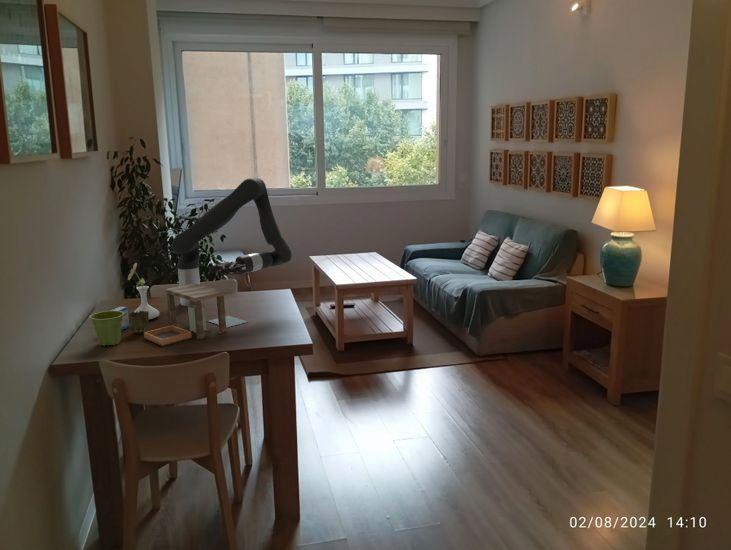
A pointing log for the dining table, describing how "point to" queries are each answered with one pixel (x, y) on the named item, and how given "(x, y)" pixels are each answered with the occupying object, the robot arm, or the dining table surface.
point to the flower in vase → (143, 297)
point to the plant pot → (108, 326)
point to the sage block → (192, 318)
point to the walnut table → (196, 304)
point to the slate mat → (229, 321)
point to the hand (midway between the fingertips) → (215, 271)
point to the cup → (139, 320)
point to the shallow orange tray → (167, 335)
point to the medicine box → (125, 317)
